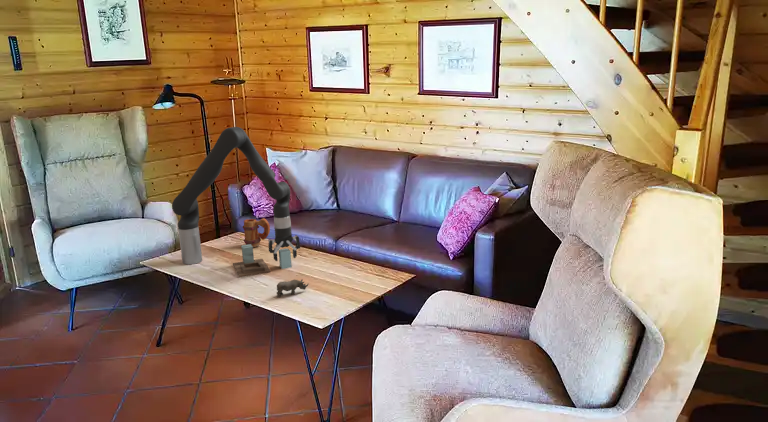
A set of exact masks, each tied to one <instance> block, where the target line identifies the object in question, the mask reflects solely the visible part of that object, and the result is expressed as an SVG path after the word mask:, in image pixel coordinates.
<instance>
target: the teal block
mask: <svg viewBox="0 0 768 422" xmlns="http://www.w3.org/2000/svg"><path fill="white" fill-rule="evenodd" d="M278 259H279V267H280V269H281V270H285V269H289V268H290V269H291V268H293V267H292V254H291V250H290V249H289V248H288V247H286V248H282V249H281V248H280V249H279V250H278Z"/></svg>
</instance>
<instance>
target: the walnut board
mask: <svg viewBox="0 0 768 422" xmlns="http://www.w3.org/2000/svg"><path fill="white" fill-rule="evenodd" d="M241 254H242V255H241V256H242V261H237V262H232V266H233V268H234V270H235V272H236V274H237V276H238V278H244V277H245V278H246V277H250V276H257V275H261V274H268V273H271V269H270V268H269V266H268V265H267V263H266V262H265V260H264V259H263V258H257V259H255V258H254V256H255V255H254V247H253V246H252V245H251V244H250V245H246V244H244V245H241Z"/></svg>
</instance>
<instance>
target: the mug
mask: <svg viewBox="0 0 768 422" xmlns="http://www.w3.org/2000/svg"><path fill="white" fill-rule="evenodd" d="M270 226H271V225H270V223H269V221H268V220H267V219H266V218H264V217H263V218H261V219H260V220H257V219H255V218H250V219H249V218H247V219H244V220H243V226H242V230H244V231H243V233H244V239H243V242H244V245H250V244H251V245H252V246H253V248H256V247H258V246H260V245H261V240H263V241H264V240H266V239H267V238H268V236H269V235H270V231H271V227H270ZM260 227H262V228H263V232H259V228H260Z"/></svg>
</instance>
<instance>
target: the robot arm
mask: <svg viewBox="0 0 768 422" xmlns="http://www.w3.org/2000/svg"><path fill="white" fill-rule="evenodd" d="M236 148H237V149H238V150H239V151H240V152H241V153H243V155H244V156H245V158H246V159H247V162H248V163H249V166H250V168H251V171H252V172H253V173H254V174H255V176H256V177H257V178H258V180H260V181H261V183H262V184H263V187H264V188H265V189H264V190H265V191H266V192H267V194H268V195H269V197H270V198H271V199H273V200H276V202H275V203H274V204H273V225H274V235H275V236H274V237H275V238H274V239H271V238H270V239H268V252H269V253H270V254H273V260H274V261H275V262H278V259H279V258H278V252H279V250H281V248H282V249H284V248H288V247H291V248H292V258H294V259H296V258H297V255H298V254H297V253H298V252H297V250H298V249H301V245H300V237H299V236H298V235H297V234H296V235H294V236H293V234H292V233H293V232H292V222H291V221H292V220H291V214H290V207H289V206H290V200H291V187H290V186H289V184H288V182H285V181H279V182H277V179H275V178H276V173H275V172H274V170H273V169H272V168H271V167H270V165H268V163H267V162H266V161H265V159H264V158H263V157H262V156H261V154H260V153H259V152H258V150H257V149H256V147H255V146H254V144H253V142H252V141H251V139H250V138H249V136H248V134H247V133H246V130H244V129H243V128H241V127H239V126H233V127H232V126H231V127H227V128H224V130H222V132H221V133H220V135H219V137H218V138H217V140H216V142H215V144H214V145H213V147H212V149H211V150H210V152H209V153H208V154H207V155H206V156H205V158H204V159H203V161H202V162H201V163H200V164H199V166H198V167H197V169H196V170H195V172H194V173H193V174H192V176H191V177H190V178H189V181H188V182H187V184H186V185H185V187H184V188H183V189H182V190H181V191H180V192H179V194H177V196H176V197H175V198H174V199H173V200H172V203H171V208H172V212H173V213H174V214H175V215H177V216H180V218H179V220H178V222H177V229H178V237H179V238H178V239H179V244H180V245H179V246H180V253H181V259H182V260H181V261H182V264H184V265H195V264H198V263H201V262H202V261H203V254H202V246H201V238H200V237H201V236H200V230H199V229H200V228H199V221H200V213H199V212H200V208H199V201H198V198H199V196H200V195H202V193H204V192H205V191H206V190H207V189H208V188H210V187H211V185H212V184H213V183H214V182H215V181H216V179H217V178H218V177H219V175H220V174H221V172H222V169H223V166H224V161H225V160H226V158H227V157H228V156H229V154H230V153H231V152H232V151H233V150H234V149H236ZM293 240H294V241H295V245H294V244H292V242H293ZM273 245H275V246H274V248H273Z"/></svg>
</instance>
